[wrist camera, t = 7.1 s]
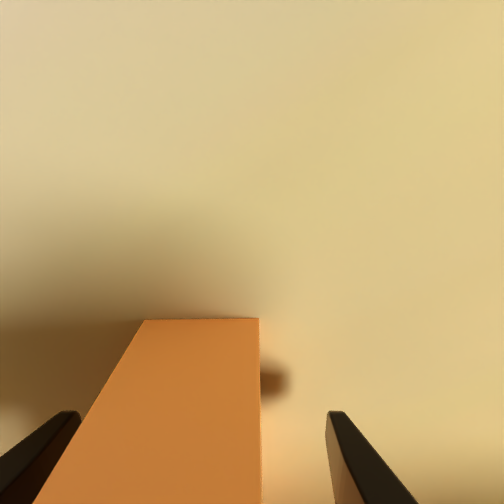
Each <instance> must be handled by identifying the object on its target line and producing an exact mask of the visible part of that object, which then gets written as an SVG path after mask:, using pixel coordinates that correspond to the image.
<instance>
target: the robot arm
mask: <svg viewBox="0 0 504 504" xmlns="http://www.w3.org/2000/svg"><path fill="white" fill-rule="evenodd" d="M81 423H82V421H81V417H80V414H79V413H78V412H77V411H61V412H59V413H58V414H57V415H55V416H54V417H53V418H51V419H50V420H49V421H47V422H46V423H45V424H43V425H42V426H41V427H39V428H38V429H37V430H35V431H34V432H33V433H31V434H30V435H29V436H27V437H26V438H25V439H23V440H22V441H21V442H20V443H18V444H17V445H16V446H14V447H13V448H12V449H10V450H9V451H8V452H6V453H5V454H4V455H2V456H1V457H0V504H33V502H34V500H35V499H36V497H37V495H38V494H39V492H40V491H41V489H42V487H43V486H44V484H45V482H46V481H47V479H48V477H49V476H50V474H51V472H52V471H53V469H54V468H55V466H56V464H57V463H58V461H59V459H60V458H61V456H62V454H63V453H64V451H65V449H66V448H67V446H68V444H69V443H70V441H71V440H72V438H73V436H74V435H75V433H76V431H77V430H78V428H79V426H80V425H81ZM325 438H326V446H327V453H328V459H329V466H330V472H331V479H332V485H333V492H334V498H335V504H419V503H418V502H417V501H416V500H415V498H414V497H413V496H412V495H411V493H410V492H409V491H408V490H407V489H406V487H405V486H404V485H403V484H402V482H401V481H400V480H399V479H398V477H397V476H396V475H395V474H394V473H393V471H392V470H391V469H390V468H389V466H388V465H387V464H386V463H385V461H384V460H383V459H382V458H381V457H380V455H379V454H378V453H377V452H376V450H375V449H374V448H373V447H372V445H371V444H370V443H369V442H368V441H367V439H366V438H365V437H364V436H363V434H362V433H361V432H360V431H359V430H358V428H357V427H356V426H355V425H354V423H353V422H352V421H351V420H350V418H349V417H348V416H347V415H346V414H345V413H344V412H343V411H329V412H328V414H327V421H326V431H325Z"/></svg>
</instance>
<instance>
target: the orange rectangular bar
mask: <svg viewBox="0 0 504 504" xmlns="http://www.w3.org/2000/svg"><path fill="white" fill-rule="evenodd" d="M33 504H263V494H262V446H261V398H260V350H259V318H236V319H157V320H144V321H143V323H142V324H141V326H140V328H139V329H138V331H137V333H136V334H135V336H134V338H133V339H132V341H131V343H130V344H129V346H128V347H127V349H126V351H125V352H124V354H123V356H122V357H121V359H120V361H119V362H118V364H117V366H116V367H115V369H114V371H113V372H112V374H111V375H110V377H109V379H108V380H107V382H106V384H105V385H104V387H103V389H102V390H101V392H100V394H99V395H98V397H97V398H96V400H95V402H94V403H93V405H92V407H91V408H90V410H89V412H88V413H87V415H86V417H85V418H84V420H83V421H82V423H81V425H80V426H79V428H78V430H77V431H76V433H75V435H74V436H73V438H72V440H71V441H70V443H69V444H68V446H67V448H66V449H65V451H64V453H63V454H62V456H61V458H60V459H59V461H58V463H57V464H56V466H55V468H54V469H53V471H52V472H51V474H50V476H49V477H48V479H47V481H46V482H45V484H44V486H43V487H42V489H41V491H40V492H39V494H38V495H37V497H36V499H35V500H34V502H33Z"/></svg>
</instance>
